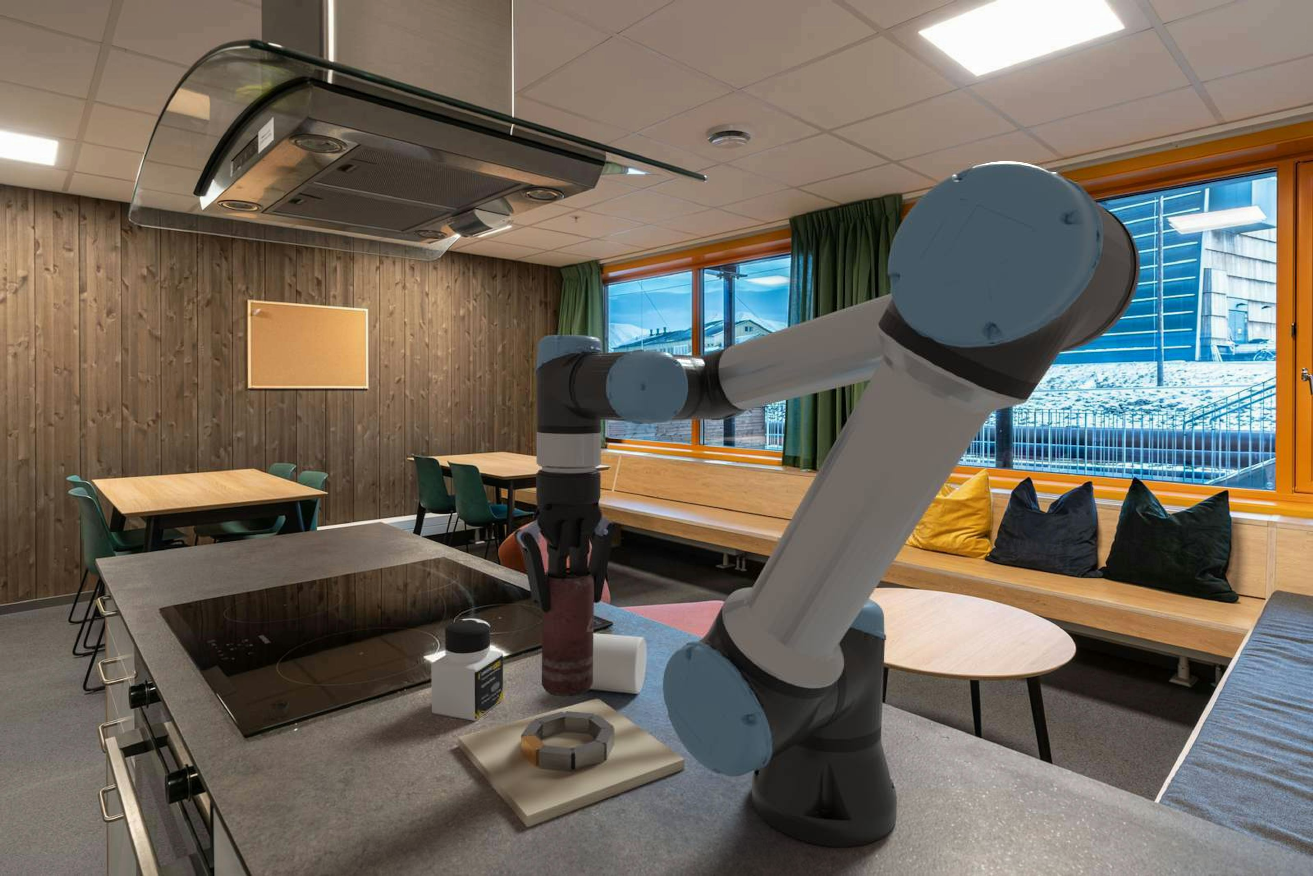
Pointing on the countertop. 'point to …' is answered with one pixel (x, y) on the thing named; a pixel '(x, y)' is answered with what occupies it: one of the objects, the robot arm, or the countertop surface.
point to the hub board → (562, 791)
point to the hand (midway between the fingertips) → (567, 663)
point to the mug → (618, 663)
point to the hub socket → (565, 756)
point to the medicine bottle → (467, 672)
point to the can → (568, 636)
